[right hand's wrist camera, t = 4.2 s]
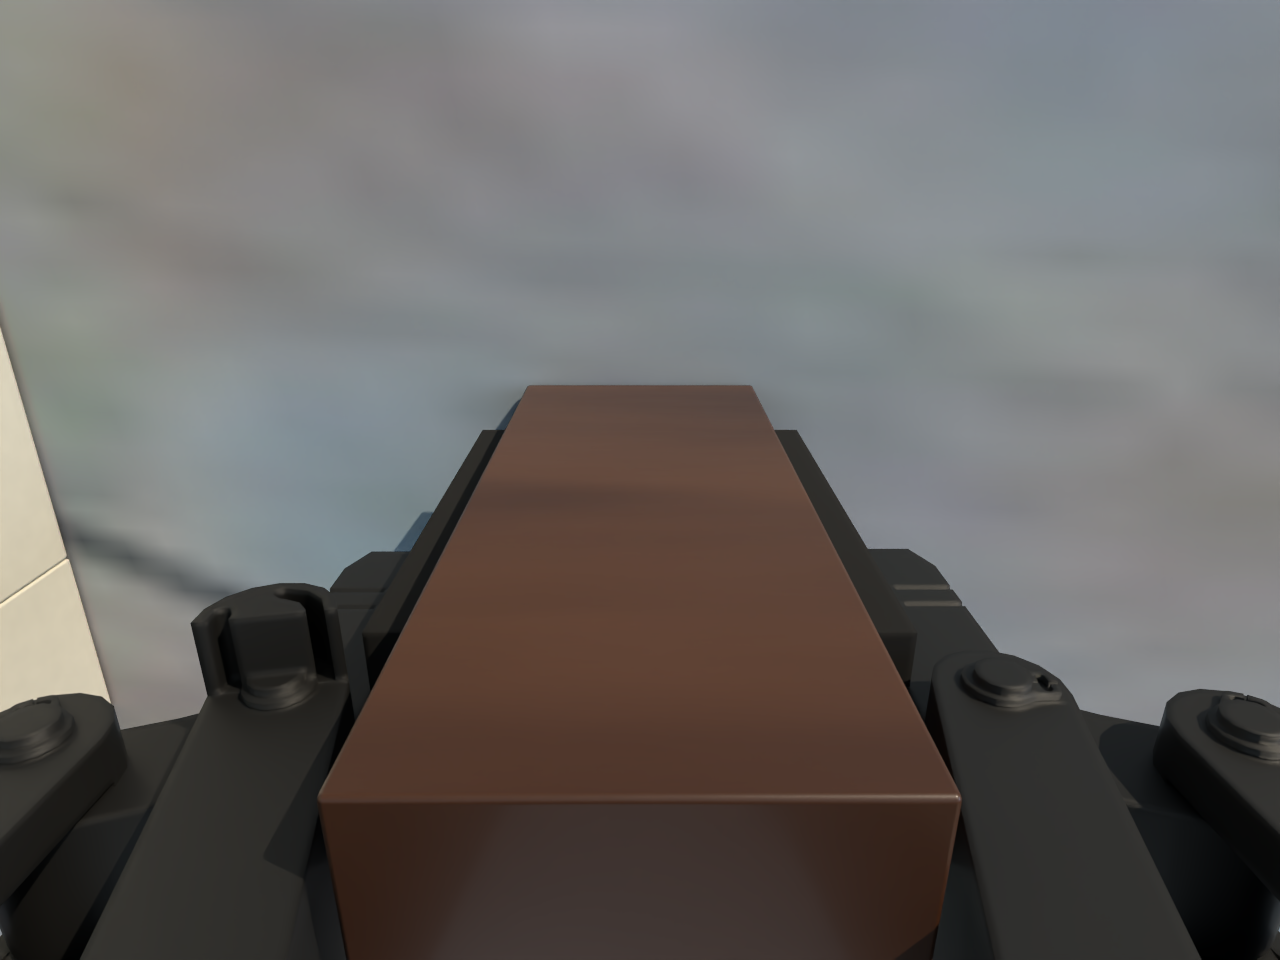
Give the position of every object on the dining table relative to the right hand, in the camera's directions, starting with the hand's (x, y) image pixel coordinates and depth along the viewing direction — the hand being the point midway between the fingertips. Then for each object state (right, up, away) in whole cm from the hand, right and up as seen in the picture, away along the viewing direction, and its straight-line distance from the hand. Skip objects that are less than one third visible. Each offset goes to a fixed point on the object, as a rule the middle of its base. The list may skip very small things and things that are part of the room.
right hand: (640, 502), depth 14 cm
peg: (0, 0, +1) cm, 1 cm away
